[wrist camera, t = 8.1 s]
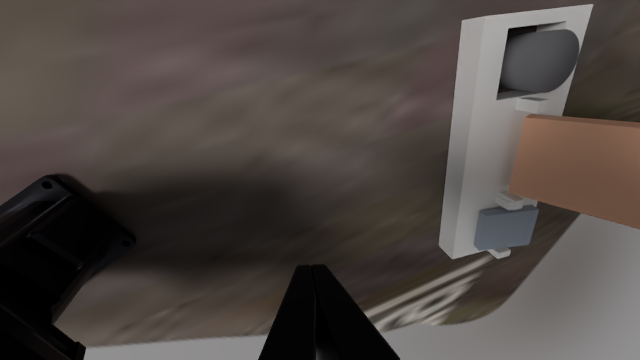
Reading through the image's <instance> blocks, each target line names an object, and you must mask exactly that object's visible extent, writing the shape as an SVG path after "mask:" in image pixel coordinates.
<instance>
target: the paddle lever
mask: <svg viewBox="0 0 640 360" xmlns="http://www.w3.org/2000/svg"><path fill="white" fill-rule="evenodd" d="M508 193H511V194H514V195H518V196H522V197H525V198H529V199H533V200H536V201H540V202H543V203H547V204H551V205H554V206H558V207H561V208H565V209H569V210H572V211H576V212H579V213H583V214H587V215H590V216H594V217H597V218H601V219H605V220H609V221H612V222H616V223H619V224H623V225H626V226H630V227H633V228H637V229H640V123H639V122H626V121H614V120H602V119H590V118H577V117H565V116H553V115H540V114H530V115H528V116H526V117H525V118H524V122H523V127H522V131H521V136H520V140H519V145H518V149H517V154H516V159H515V163H514V168H513V172H512V177H511V181H510V186H509V190H508Z"/></svg>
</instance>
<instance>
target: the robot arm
mask: <svg viewBox="0 0 640 360" xmlns="http://www.w3.org/2000/svg"><path fill="white" fill-rule="evenodd" d="M46 181H47V182H50V183H51V184H52V186H49V185H48V184H47V182H46ZM125 240H126V241H129V242H130V243H126V242H125ZM136 241H137V240H136V238H135V236H133V235H132V234H131V233H129V232H128V231H127V230H126V229H124V228H123V227H122V226H120V225H119V224H118V223H116V222H115V221H114V220H113V219H111V218H110V217H109V216H108V215H106V214H105V213H104V212H102V211H101V210H100V209H98V208H97V207H96V206H95V205H93V204H92V203H91V202H89V201H88V200H87V199H85V198H84V197H83V196H81V195H80V194H79V193H77V192H76V191H75V190H73V189H72V188H71V187H69V186H68V185H67V184H66V183H64V182H63V181H62V180H60V179H59V178H58V177H56V176H53V175H46V176H43V177H42V178H40V179H38V180H37V181H35V182H34V183H32V184H31V185H30V186H28V187H27V188H25V189H24V190H22V191H21V192H20V193H18V194H17V195H15V196H14V197H13V198H11V199H10V200H8V201H7V202H5V203H4V204H3V205H1V206H0V360H83V359H84V355H85V350H86V347H85V346H84V345H82V344H81V343H80V342H74V341H73V340H72V339H71V338H69V337H68V336H67V335H66V334H64V333H63V332H62V331H60V330H59V329H58V328H57V327H55V326H54V323H55V322H56V321H57V319H58V318H59V317H60V315H61V314H62V313H63V311H64V310H65V309H66V307H67V306H68V305H69V303H70V302H71V301H72V299H73V298H74V297H75V295H76V294H77V293H78V291H79V290H80V289H81V287H82V286H83V285H84V283H85V282H86V281H87V279H88V278H89V277H90V276H92V275H93V274H94V273H96V272H97V271H99V270H100V269H102V268H103V267H105V266H106V265H108V264H109V263H111V262H112V261H114V260H115V259H117V258H118V257H120V256H121V255H123V254H124V253H125V252H127V251H128V250H130V249H131V248H133V247H134V245H135V244H136ZM258 360H400V358H399V357H398V355H397V354H396V353H395V352H394V350H393V349H392V348H391V346H390V345H389V344H388V343H387V341H386V340H385V339H384V338H383V336H382V335H381V334H380V333H379V331H378V330H377V329H376V328H375V326H374V325H373V324H372V323H371V321H370V320H369V319H368V318H367V316H366V315H365V314H364V313H363V311H362V310H361V309H360V308H359V306H358V305H357V304H356V303H355V301H354V300H353V299H352V298H351V296H350V295H349V294H348V293H347V291H346V290H345V289H344V287H343V286H342V285H341V284H340V282H339V281H338V280H337V279H336V277H335V276H334V275H333V274H332V272H331V271H330V270H329V269H328V267H327V266H326V265H325V264H313V265H312V266H310V265H298V266H297V267H296V269H295V272H294V274H293V276H292V279H291V281H290V284H289V286H288V288H287V291H286V293H285V296H284V298H283V301H282V303H281V305H280V308H279V310H278V313H277V315H276V318H275V320H274V322H273V325H272V327H271V330H270V332H269V335H268V337H267V339H266V342H265V344H264V347H263V349H262V352H261V354H260V356H259V359H258Z"/></svg>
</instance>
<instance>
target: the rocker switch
mask: <svg viewBox="0 0 640 360" xmlns="http://www.w3.org/2000/svg"><path fill="white" fill-rule="evenodd" d="M538 213H539V209H538V208H536V207H535V206H533V205H532V204H531V205H523V206H522V208H521V209H517V210H507V209H505V208H498V209H490V210H482V211H479V217H478V222H477V228H476V234H475V239H474V246H475V247H476V248H477V249H478V250H479V251H481V250H490V249H498V248H506V247H514V246H523V245H529V244H530V240H531V237H532V233H533V230H534V226H535V223H536V219H537V216H538Z"/></svg>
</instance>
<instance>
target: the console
mask: <svg viewBox="0 0 640 360" xmlns="http://www.w3.org/2000/svg"><path fill="white" fill-rule="evenodd" d="M592 7H593V4H589V5H580V6H571V7H562V8H554V9H545V10H536V11H527V12H518V13H509V14H500V15H492V16H484V17H478V18H473V19H467V20H462V26H461V35H460V45H459V55H458V64H457V74H456V84H455V93H454V103H453V113H452V122H451V132H450V141H449V151H448V161H447V170H446V180H445V190H444V199H443V209H442V218H441V228H440V238H439V246H440V247H441V248H442V249H443V250H444V252H445V253H446V254H447V255H448V256H449V257H450V258H451V259H455V258H459V257H463V256H466V255H470V254H474V253H478V252H481V251H485V250H481V251H479V250H478V249H477V248H476V247H475V246H474V239H475V234H476V228H477V222H478V217H479V211H482V210H490V209H498V208H505V209H507V210H517V209H521V208H522V206H523V205H531V204H532V205H533V206H535V207H536V206H537V202H538V201H536V200H533V199H529V198H525V197H522V196H518V195H514V194H511V193H508V190H509V186H510V181H511V177H512V172H513V168H514V163H515V159H516V154H517V149H518V145H519V140H520V136H521V131H522V127H523V122H524V118H525V117H526V116H528V115H530V114H540V115H553V116H562V113H563V110H564V106H565V103H566V99H567V96H568V92H569V89H570V85H571V81H572V78H573V74H574V71H575V68H574V70H573V71H572V73H571V75H570V76H569V77H568V79H567V80H566V81H565V82H564V83H563V84H562V85H561V86H560V87H558V88H557V89H555V90H553V91H551V92H547V93H539V92H531V91H522V90H514V91H508V92H502V93H497V92H498V86H499V81H500V75H501V69H502V63H503V57H504V51H505V45H506V40H507V34H508V28H515V27H523V26H531V25H537V30H536V32H539V31H550V30H560V29H568V30H571V31H572V32H574V33H575V34H576V36H577V38H578V40H579V47H580V48H579V53H580V49H581V46H582V42H583V39H584V35H585V32H586V28H587V25H588V21H589V17H590V14H591V10H592ZM578 57H579V56H578ZM576 64H577V63H576ZM575 67H576V65H575ZM487 251H489V252H490V253H491V254H492V255H494V256H495V257H496V258H497V259H499V258H503V257H506V256H509V255H510V252H511V250H510V249H508V248H507V247H506V248H498V249H490V250H487Z"/></svg>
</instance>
